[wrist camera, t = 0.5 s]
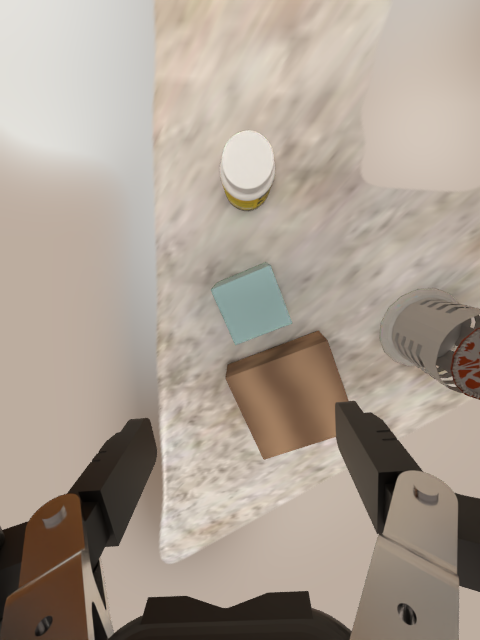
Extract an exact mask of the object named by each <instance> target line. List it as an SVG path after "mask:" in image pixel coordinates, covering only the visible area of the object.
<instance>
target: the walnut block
mask: <svg viewBox="0 0 480 640" xmlns="http://www.w3.org/2000/svg"><path fill="white" fill-rule="evenodd" d="M226 381H227V383H228V385H229V387H230V389H231V391H232V393H233V395H234V398H235V400H236V402H237V404H238V406H239V408H240V410H241V412H242V415H243V417H244V419H245V421H246V423H247V425H248V427H249V429H250V432H251V434H252V436H253V438H254V440H255V442H256V444H257V446H258V449H259V451H260V453H261V455H262V457H263V459H268V458H271V457H274V456H277V455H280V454H283V453H286V452H290V451H293V450H296V449H299V448H302V447H305V446H308V445H311V444H315V443H318V442H321V441H324V440H327V439H330V438H333V437H336V425H335V403H336V402H347V401H348V398H347V395H346V392H345V389H344V387H343V384H342V381H341V378H340V375H339V372H338V369H337V366H336V364H335V361H334V358H333V355H332V352H331V349H330V346H329V344H328V341H327V340H326V338H325V337H324V336H323V335H322V334H321V333H320V332H319V331H316V332H313V333H311V334H308V335H305V336H303V337H300V338H297V339H295V340H292V341H289V342H287V343H284V344H281V345H279V346H276V347H273V348H271V349H268V350H265V351H263V352H260V353H257V354H255V355H252V356H249V357H247V358H244V359H241V360H239V361H236V362H233V363H231V364H228V366H227V372H226Z"/></svg>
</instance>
